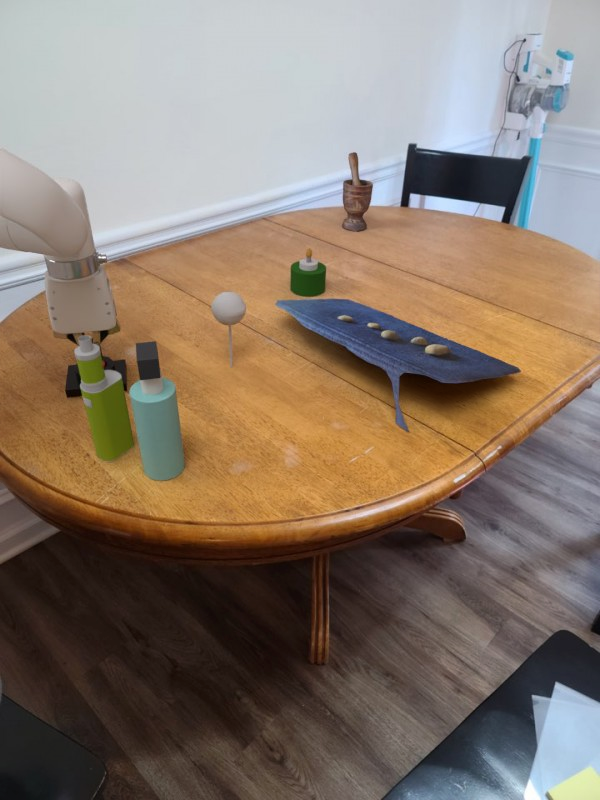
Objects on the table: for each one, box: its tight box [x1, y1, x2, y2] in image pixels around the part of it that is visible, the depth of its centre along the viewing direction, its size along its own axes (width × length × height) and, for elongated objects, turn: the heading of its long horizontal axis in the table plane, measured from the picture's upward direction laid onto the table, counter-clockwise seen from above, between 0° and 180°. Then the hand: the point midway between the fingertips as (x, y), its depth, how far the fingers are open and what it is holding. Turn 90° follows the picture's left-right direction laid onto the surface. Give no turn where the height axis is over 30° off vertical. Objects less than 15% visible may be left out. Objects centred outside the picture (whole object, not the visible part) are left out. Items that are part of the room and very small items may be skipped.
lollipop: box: [211, 290, 247, 368], centre depth 101 cm, size 6×6×15 cm
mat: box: [274, 298, 522, 434], centre depth 109 cm, size 45×27×12 cm, turn 42°
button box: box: [64, 355, 128, 399], centre depth 100 cm, size 10×8×4 cm
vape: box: [73, 334, 135, 463], centre depth 80 cm, size 4×6×20 cm, turn 147°
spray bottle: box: [128, 340, 186, 482], centre depth 77 cm, size 6×6×20 cm
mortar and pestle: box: [341, 151, 374, 233], centre depth 166 cm, size 12×9×20 cm
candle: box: [289, 248, 327, 298], centre depth 131 cm, size 8×8×10 cm
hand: (94, 363), depth 98 cm, fingers closed
